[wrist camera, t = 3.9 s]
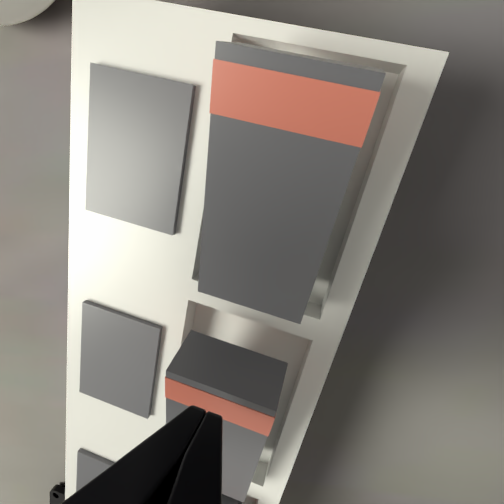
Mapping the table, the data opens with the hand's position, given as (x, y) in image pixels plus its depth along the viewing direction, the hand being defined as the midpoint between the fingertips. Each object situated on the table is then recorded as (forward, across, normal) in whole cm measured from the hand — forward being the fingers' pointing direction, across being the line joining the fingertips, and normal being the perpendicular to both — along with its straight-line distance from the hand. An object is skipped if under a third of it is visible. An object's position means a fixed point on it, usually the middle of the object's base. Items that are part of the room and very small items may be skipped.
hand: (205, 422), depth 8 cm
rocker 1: (+3, 0, +2) cm, 4 cm away
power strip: (+7, +2, +2) cm, 8 cm away
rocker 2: (+3, 0, -6) cm, 6 cm away
